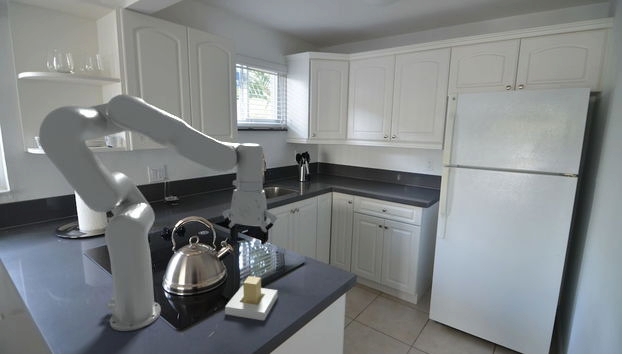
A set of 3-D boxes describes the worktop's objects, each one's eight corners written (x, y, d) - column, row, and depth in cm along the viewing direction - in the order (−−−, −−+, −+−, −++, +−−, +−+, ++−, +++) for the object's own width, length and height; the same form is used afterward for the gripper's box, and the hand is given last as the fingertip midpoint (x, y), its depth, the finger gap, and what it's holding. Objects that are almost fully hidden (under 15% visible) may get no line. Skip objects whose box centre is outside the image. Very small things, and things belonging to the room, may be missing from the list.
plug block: (243, 306, 92) (243, 282, 91) (249, 299, 96) (248, 276, 95) (256, 308, 91) (256, 284, 90) (261, 301, 95) (261, 277, 94)
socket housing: (225, 314, 89) (225, 306, 89) (242, 292, 101) (242, 285, 100) (264, 320, 87) (264, 312, 86) (277, 297, 98) (277, 290, 98)
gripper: (216, 185, 88) (216, 241, 91) (272, 191, 84) (271, 249, 87) (229, 181, 95) (229, 233, 98) (281, 186, 91) (280, 240, 94)
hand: (249, 241), depth 93 cm, fingers open, 9 cm apart
